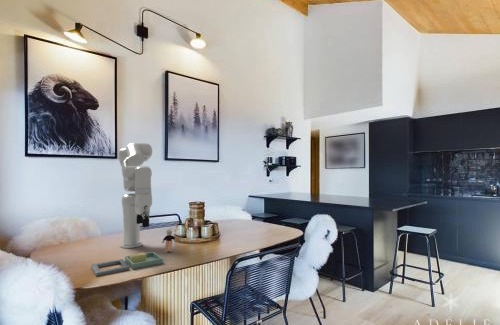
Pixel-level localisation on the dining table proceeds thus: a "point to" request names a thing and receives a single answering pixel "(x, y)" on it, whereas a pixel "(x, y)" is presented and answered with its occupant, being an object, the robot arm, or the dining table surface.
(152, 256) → the tray
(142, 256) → the brass peg
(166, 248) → the grandmother figurine
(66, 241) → the dining table surface
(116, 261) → the collar block
